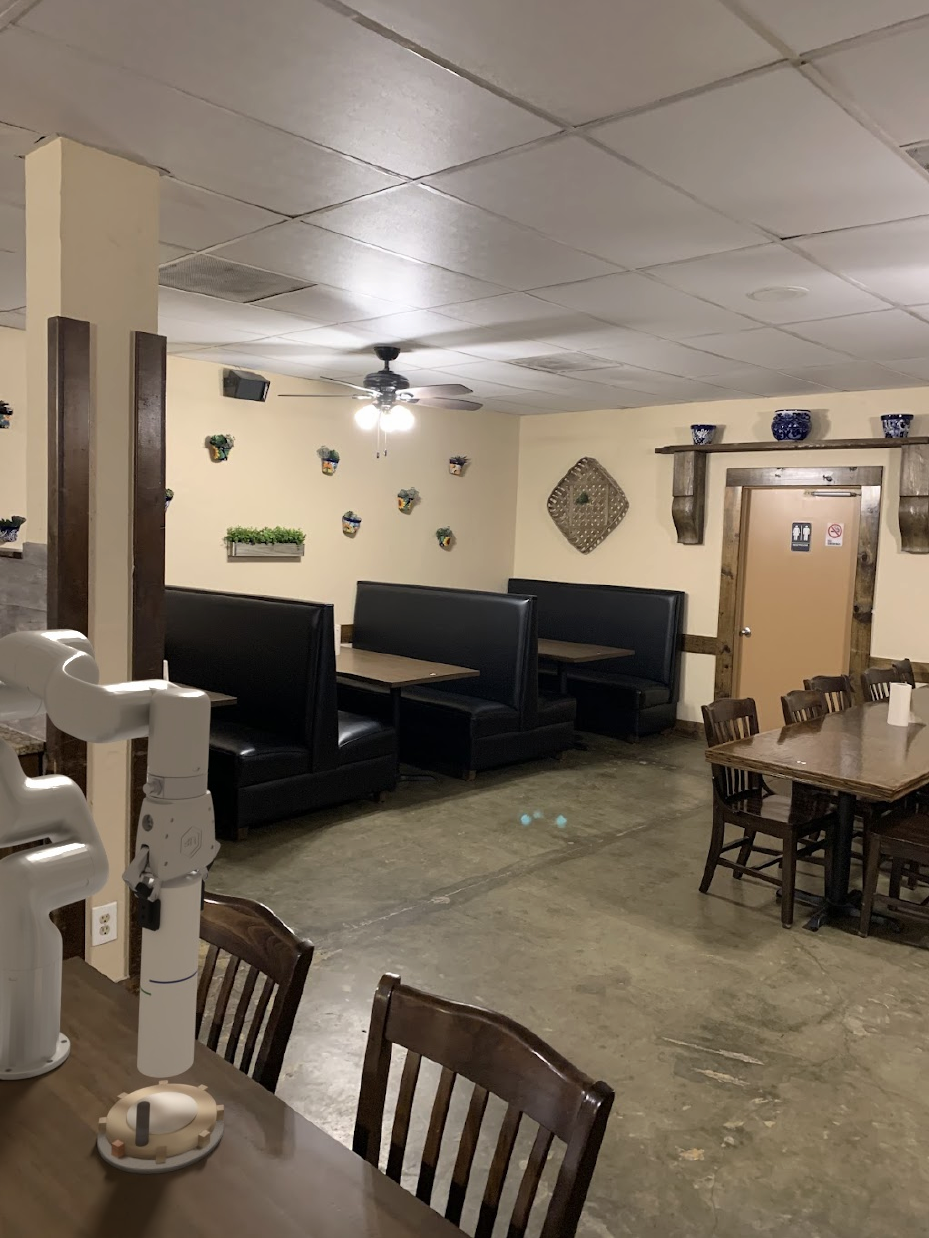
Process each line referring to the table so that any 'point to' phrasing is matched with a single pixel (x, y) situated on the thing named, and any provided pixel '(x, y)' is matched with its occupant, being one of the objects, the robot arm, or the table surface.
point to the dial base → (150, 1164)
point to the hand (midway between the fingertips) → (171, 917)
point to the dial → (161, 1121)
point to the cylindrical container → (170, 980)
